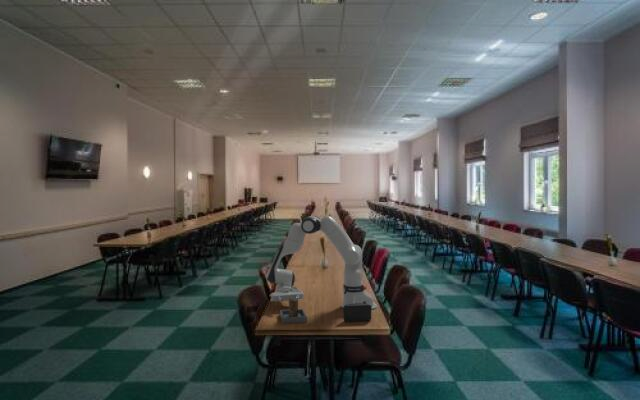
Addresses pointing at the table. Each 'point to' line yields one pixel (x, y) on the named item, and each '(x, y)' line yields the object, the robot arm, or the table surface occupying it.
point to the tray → (286, 319)
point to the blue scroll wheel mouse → (357, 312)
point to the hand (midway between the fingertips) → (289, 299)
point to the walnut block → (293, 307)
